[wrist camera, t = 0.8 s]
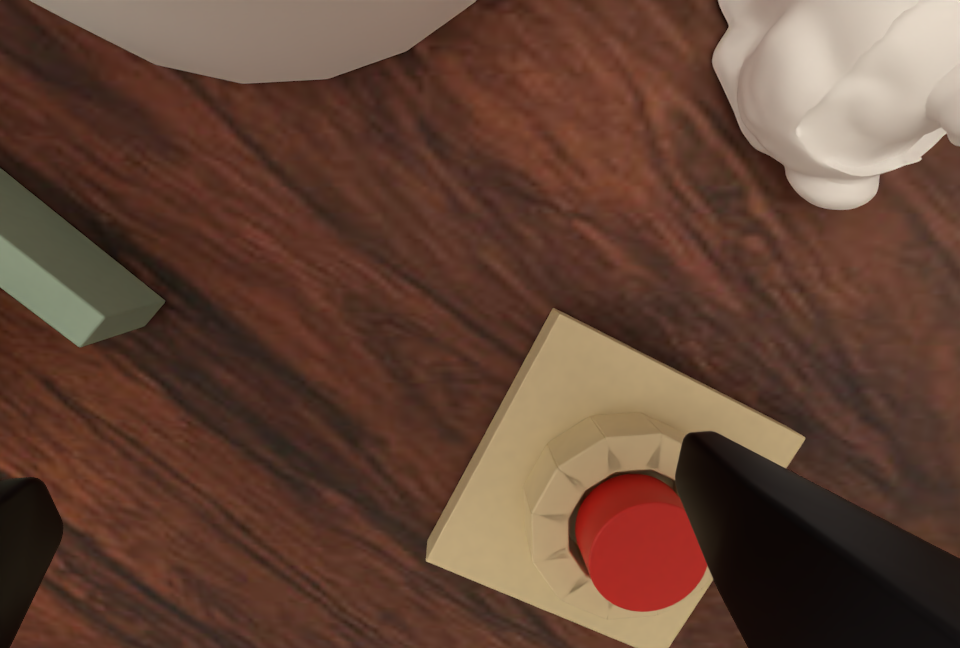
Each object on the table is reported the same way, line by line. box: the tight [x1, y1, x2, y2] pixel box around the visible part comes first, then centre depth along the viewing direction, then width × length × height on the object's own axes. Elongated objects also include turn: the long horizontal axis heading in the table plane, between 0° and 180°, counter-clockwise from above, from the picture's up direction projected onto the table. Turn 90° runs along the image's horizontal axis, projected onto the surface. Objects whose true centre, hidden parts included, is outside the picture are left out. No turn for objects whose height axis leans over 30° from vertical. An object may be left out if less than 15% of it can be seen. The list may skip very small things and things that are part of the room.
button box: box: [426, 308, 806, 648], centre depth 17 cm, size 10×10×3 cm
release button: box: [575, 474, 707, 612], centre depth 15 cm, size 4×4×2 cm
